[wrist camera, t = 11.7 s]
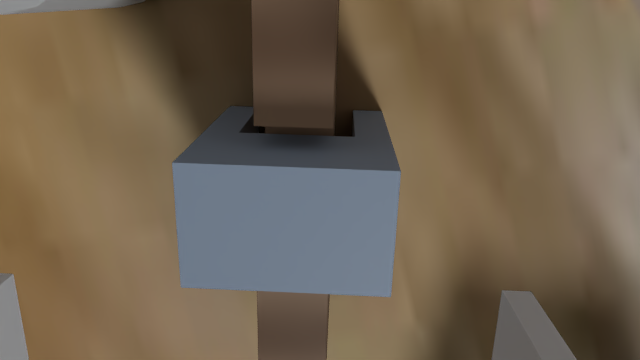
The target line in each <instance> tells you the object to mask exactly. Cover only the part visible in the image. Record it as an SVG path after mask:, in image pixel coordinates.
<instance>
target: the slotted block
mask: <svg viewBox="0 0 640 360" xmlns="http://www.w3.org/2000/svg"><path fill="white" fill-rule="evenodd" d="M172 166H173V181H174V195H175V209H176V224H177V238H178V253H179V267H180V281H181V287H183V288H205V289H227V290H249V291H271V292H293V293H315V294H337V295H359V296H380V297H391V288H392V276H393V263H394V251H395V238H396V226H397V213H398V200H399V188H400V175H401V170H400V167H399V164H398V161H397V158H396V154H395V151H394V148H393V145H392V142H391V139H390V135H389V132H388V129H387V126H386V123H385V120H384V116H383V113H382V111H362V110H353V125H352V137H347V136H319V135H291V134H263V133H259V126H254V111H253V107H245V106H230V107H229V108H227V109H226V110H225V111H224V112H223V113H222V114H221V115H220V116H219V117H218V118H217V119H216V120H215V121H214V122H213V123H212V124H211V125H210V126H209V127H208V128H207V129H206V130H205V131H204V132H203V133H202V134H201V135H200V136H199V137H198V138H197V139H196V140H195V141H194V142H193V143H192V144H191V145H190V146H189V147H188V148H187V149H186V150H185V151H184V152H183V153H182V154H181V155H180V156H179V157H178V158H176V159H175V160H174V161H173V162H172Z"/></svg>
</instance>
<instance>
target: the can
mask: <svg viewBox="0 0 640 360" xmlns="http://www.w3.org/2000/svg"><path fill="white" fill-rule="evenodd" d="M144 1H145V0H0V14H3V15H4V14H20V13H36V12H52V11H68V10H84V9H100V8H117V7H124V6H128V5H132V4H136V3H141V2H144Z"/></svg>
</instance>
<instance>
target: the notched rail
mask: <svg viewBox="0 0 640 360" xmlns="http://www.w3.org/2000/svg"><path fill="white" fill-rule="evenodd" d="M251 8H252V59H253V111H254V126H265V134H291V135H319V136H335V112H336V81H337V50H338V20H339V0H251ZM329 297H330V294H315V293H293V292H271V291H257V316H258V360H326V359H327V339H328V319H329Z"/></svg>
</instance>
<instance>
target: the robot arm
mask: <svg viewBox="0 0 640 360" xmlns="http://www.w3.org/2000/svg"><path fill="white" fill-rule="evenodd" d="M0 360H29V358H28V352H27V347H26V341H25V336H24V330H23V325H22V319H21V314H20V308H19V303H18V297H17V292H16V286H15V281H14V275H13V274H3V273H0ZM492 360H577V359H576V358H575V356H574V355H573V353H572V352H571V350H570V349H569V347H568V346H567V344H566V343H565V341H564V340H563V338H562V337H561V335H560V334H559V332H558V331H557V329H556V328H555V326H554V325H553V323H552V322H551V320H550V319H549V317H548V316H547V314H546V313H545V311H544V310H543V308H542V307H541V305H540V304H539V302H538V301H537V300H536V298H535V297H534V295H533V294H532V292H531V291H504V290H502V294H501V301H500V307H499V314H498V321H497V327H496V334H495V340H494V347H493V354H492Z"/></svg>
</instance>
